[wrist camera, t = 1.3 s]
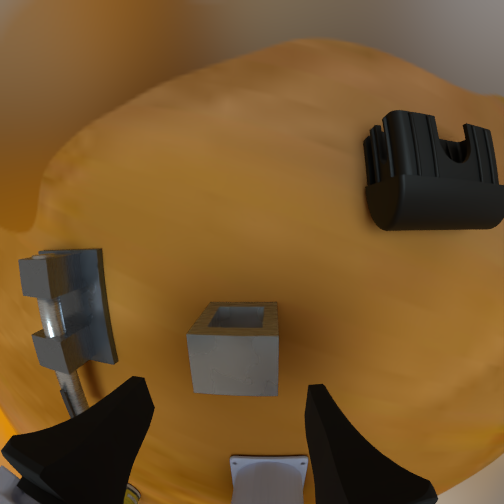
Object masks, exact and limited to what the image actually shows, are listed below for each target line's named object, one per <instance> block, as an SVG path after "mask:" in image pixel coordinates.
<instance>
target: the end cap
mask: <svg viewBox="0 0 504 504" xmlns="http://www.w3.org/2000/svg"><path fill="white" fill-rule="evenodd" d="M382 122H383V128H384V132H382V131H381V126H379V125H375V126H374V127H373V128H372V129H371V130H370V136H368V137H367V138H366V139H365V140H364V144H363V145H364V153H365V163H366V173H367V185H368V186H366V187H365V189H366V197H367V203H368V207H369V210H370V213H371V216H372V218H373V220H374V222H375V223H376V225H377V226H378V227H379V228H380V229H382V230H385V231H401V230H464V229H491V228H494V227H496V226H497V225H498V224H499V223H500V222H501V221H502V220H503V218H504V185H499V181H498V172H497V165H496V158H495V152H494V147H493V141H492V136H491V132H490V130H488V129H485V128H481V127H478V126H474V125H470V124H467V123H466V124H464V125H463V129H464V133H465V139H466V140H464V141H461V142H453V141H447V140H442V139H439V137H438V132H437V127H436V122H435V117H434V116H432V115H426V114H421V113H415V112H409V111H402V110H395V111H391V112H389V113H388V114H387V115H386V116H385V117H384V118H383V119H382Z"/></svg>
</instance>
